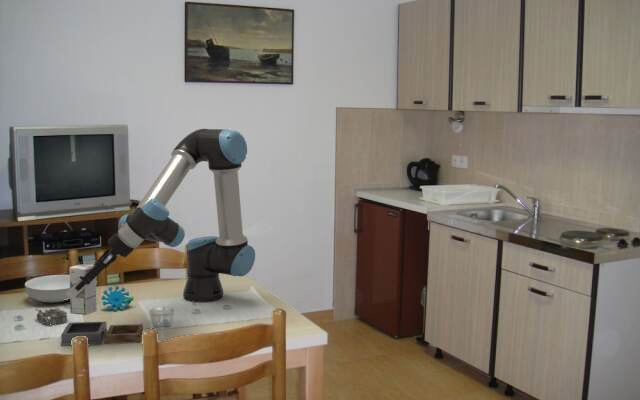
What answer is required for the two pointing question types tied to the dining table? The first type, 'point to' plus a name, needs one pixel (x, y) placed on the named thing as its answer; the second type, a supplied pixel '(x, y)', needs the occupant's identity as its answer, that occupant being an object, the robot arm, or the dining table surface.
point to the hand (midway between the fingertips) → (71, 292)
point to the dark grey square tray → (85, 332)
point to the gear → (116, 298)
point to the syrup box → (83, 291)
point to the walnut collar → (116, 337)
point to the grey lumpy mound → (52, 316)
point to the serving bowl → (49, 288)
